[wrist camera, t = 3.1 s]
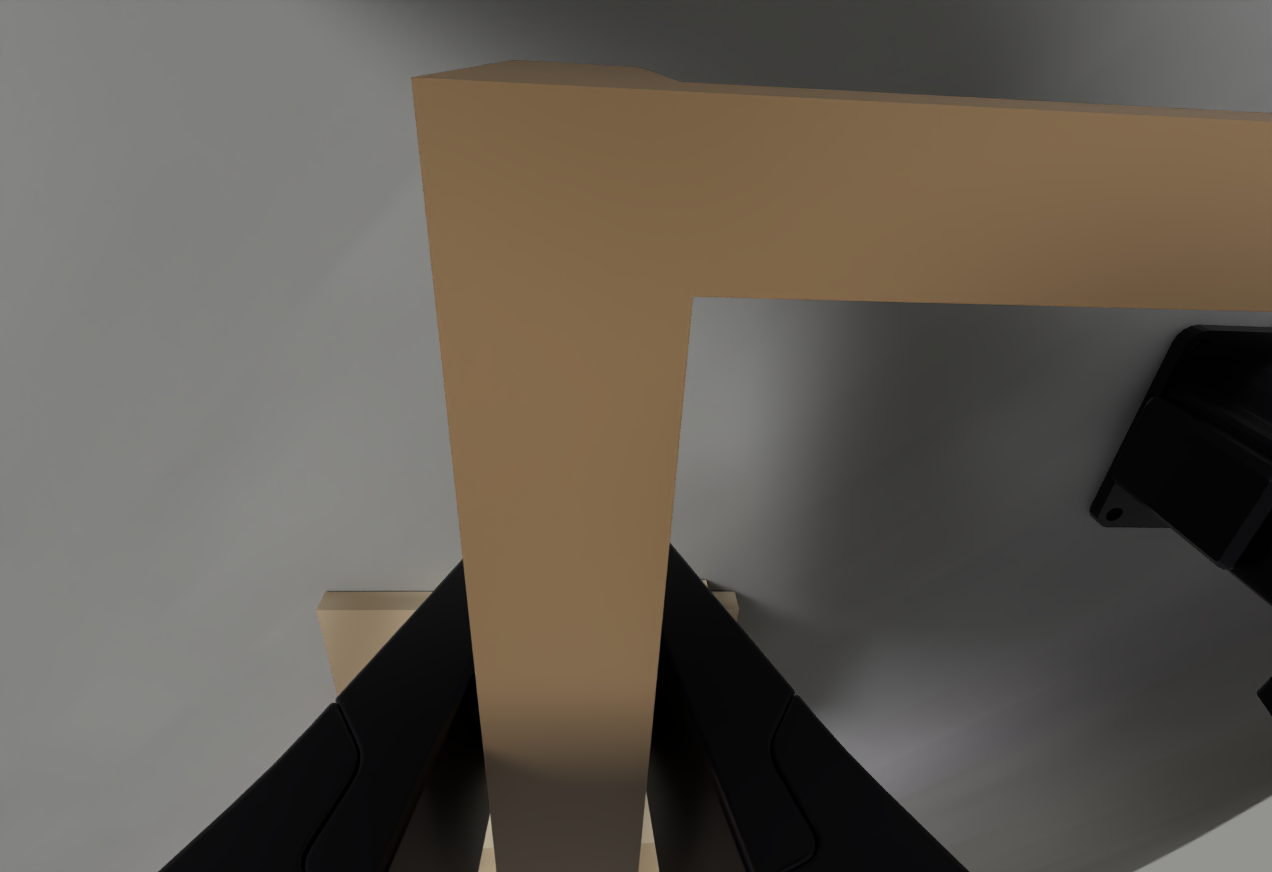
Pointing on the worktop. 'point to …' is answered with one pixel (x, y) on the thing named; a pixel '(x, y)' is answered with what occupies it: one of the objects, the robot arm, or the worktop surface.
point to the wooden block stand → (368, 624)
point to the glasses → (738, 268)
